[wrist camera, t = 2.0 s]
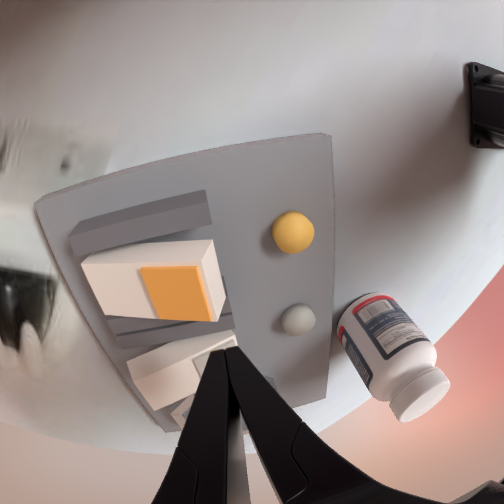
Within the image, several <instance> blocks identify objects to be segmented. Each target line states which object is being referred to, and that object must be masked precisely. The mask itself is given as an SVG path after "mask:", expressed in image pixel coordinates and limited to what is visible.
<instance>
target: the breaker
mask: <svg viewBox="0 0 504 504" xmlns="http://www.w3.org/2000/svg"><path fill="white" fill-rule="evenodd" d="M232 346H238V344H237V340H236V336H235V334H234V333H233V331H232V330H227V331H222V332H217V333H212V334H208V335H203V336H198V337H193V338H188V339H182V340H177V341H172V342H170V343H168V344H166V345H163V346H161V347H159V348H157V349H154V350H152V351H150V352H148V353H145V354H143V355H141V356H138V357H136V358H134V359H131V360H129V361H127V365H128V368H129V371H130V374H131V377H132V380H133V382H134V384H135V385H136V387H137V388H138V390H139V391H140V392H141V394H142V395H143V397H144V398H145V399H146V401H147V402H148V403H149V405H150V406H151V407H152V409H153V410H154V411H156V410H158V409H161V408H163V407H165V406H167V405H170V404H172V403H174V402H176V401H178V400H181V399H183V398H185V397H187V396H189V395H191V394H193V393H195V392H196V390H197V388H198V385H199V382H200V379H201V376H202V373H203V371H204V368H205V365H206V362H207V359H208V357H209V354H210V352H211V351H213V350H218V349H224V350H225V348H228V347H232Z"/></svg>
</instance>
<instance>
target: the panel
mask: <svg viewBox="0 0 504 504" xmlns="http://www.w3.org/2000/svg"><path fill="white" fill-rule="evenodd" d="M34 206H35V209H36V212H37V214H38V217H39V220H40V222H41V225H42V228H43V230H44V233H45V235H46V238H47V240H48V243H49V245H50V247H51V250H52V252H53V254H54V257H55V259H56V261H57V263H58V265H59V268H60V270H61V272H62V274H63V276H64V278H65V280H66V282H67V284H68V286H69V288H70V290H71V292H72V294H73V296H74V298H75V300H76V302H77V304H78V306H79V307H80V309H81V311H82V313H83V315H84V317H85V318H86V320H87V322H88V324H89V325H90V327H91V329H92V330H93V332H94V334H95V336H96V337H97V339H98V340H99V342H100V344H101V345H102V347H103V349H104V350H105V352H106V353H107V355H108V356H109V358H110V359H111V361H112V362H113V364H114V365H115V367H116V368H117V370H118V371H119V373H120V374H121V376H122V377H123V379H124V380H125V381H126V383H127V384H128V386H129V387H130V388H131V390H132V391H133V392H134V394H135V395H136V397H137V398H138V399H139V400H140V402H141V403H142V404H143V406H144V407H145V408H146V410H147V411H148V412H149V413H150V415H151V416H152V417H153V418H154V420H155V421H156V422H157V423H158V424H159V426H160V427H161V428H162V429H163V430H164V432H174V431H182V429H181V428H180V426H179V425H178V423H177V422H176V421H175V419H174V418H173V417H172V415H171V411H170V405H167V406H165V407H163V408H161V409H158V410H156V411H154V410H153V409H152V407H151V406H150V405H149V403H148V402H147V401H146V399H145V398H144V397H143V395H142V394H141V392H140V391H139V390H138V388H137V387H136V385H135V384H134V382H133V380H132V377H131V374H130V371H129V368H128V365H127V361H129V360H131V359H134V358H136V357H138V356H141V355H143V354H145V353H148V352H150V351H152V350H154V349H157V348H159V347H161V346H163V345H166V344H168V343H170V342H172V341H177V340H182V339H188V338H193V337H198V336H203V335H208V334H212V333H217V332H222V331H227V330H232V331H233V333H234V334H235V336H236V340H237V344H238V346H239V347H240V349H241V350H242V351H243V352H244V353H245V355H246V356H247V357H248V358H249V359H250V361H251V362H252V363H253V364H254V365H255V367H256V368H257V369H258V370H259V371H260V373H261V374H262V375H265V376H269V377H272V378H273V379H274V382H275V385H276V388H277V391H278V393H279V395H280V396H281V397H282V398H283V399H284V400H285V401H286V403H287V404H288V405H289V406H290V407H291V408H295V407H298V406H302V405H305V404H308V403H312V402H315V401H318V400H321V399H324V398H326V390H327V380H328V370H329V359H330V346H331V332H332V315H333V293H334V254H335V219H334V179H333V158H332V141H331V136H330V135H326V134H323V133H315V134H306V135H297V136H289V137H281V138H274V139H266V140H260V141H253V142H247V143H241V144H235V145H229V146H224V147H219V148H213V149H208V150H203V151H198V152H194V153H189V154H185V155H180V156H176V157H171V158H167V159H163V160H159V161H155V162H151V163H147V164H143V165H139V166H136V167H132V168H128V169H125V170H121V171H118V172H114V173H111V174H108V175H104V176H101V177H98V178H95V179H91V180H88V181H85V182H82V183H79V184H76V185H73V186H70V187H67V188H64V189H62V190H59V191H56V192H53V193H51V194H48V195H45V196H43V197H42V198H40V199H39V200H38V201H37V202H36V203H34ZM210 239H213V243H214V248H215V252H216V257H217V261H218V266H219V270H220V274H221V279H222V283H223V287H224V291H225V296H226V299H225V302H224V305H223V307H222V310H221V313H220V316H219V319H218V322H210V321H185V320H167V319H151V318H138V317H125V316H114V315H105V314H104V312H103V310H102V308H101V306H100V304H99V302H98V300H97V298H96V296H95V294H94V292H93V290H92V288H91V286H90V284H89V282H88V279H87V277H86V275H85V273H84V271H83V268H82V266H81V263H82V262H83V261H84V260H85V259H86V258H87V257H88V256H89V255H90V254H91V253H92V252H96V251H100V250H104V249H108V248H112V247H116V246H120V245H124V244H140V243H156V242H174V241H192V240H210ZM190 407H191V406H190ZM190 407H189V408H188V409H187V410H188V412H189V410H190ZM240 413H241V412H240ZM241 417H242V414H241Z"/></svg>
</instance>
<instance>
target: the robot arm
mask: <svg viewBox="0 0 504 504" xmlns="http://www.w3.org/2000/svg"><path fill="white" fill-rule="evenodd" d="M469 78H470V96H471V138H470V141H471V145H472V146H473V147H476V148H502V149H504V72H501V71H499V70H496V69H493V68H491V67H488V66H485V65H482V64H480V63H477V62H470V63H469ZM240 412H241V413H240ZM241 414H242V417H243V420H244V422H245V425H246V427H247V430H248V432H249V435H250V437H251V440H252V442H253V444H254V447H255V449H256V451H257V454H258V456H259V458H260V461H261V463H262V465H263V468H264V469H265V472H266V474H267V476H268V479H269V481H270V483H271V485H272V488H273V490H274V492H275V494H276V496H277V498H278V500H279V503H280V504H504V478H503V479H502V480H501V481H499V482H498V483H497V482H495V481H493V480H490V481H488V482H486V483H484V484H482V485H480V486H479V487H477V488H475V489H474V490H472V491H470V492H469V493H467V494H465V495H463V496H461V497H459V498H457V499H456V500H454V501H452V502H450V503H442V502H438V501H434V500H430V499H426V498H422V497H419V496H415V495H412V494H408V493H405V492H402V491H399V490H396V489H393V488H390V487H388V486H385V485H383V484H382V483H380V482H378V481H376V480H374V479H373V478H371V477H370V476H368V475H367V474H365V473H364V472H362V471H361V470H360V469H358V468H357V467H355V466H354V465H353V464H351V463H350V462H349V461H347V460H346V459H344V458H343V457H342V456H340V455H339V454H338V453H337V452H335V451H334V450H333V449H332V448H330V447H329V446H328V445H327V444H326V443H324V442H323V441H322V440H321V439H320V438H319V437H318V436H317V435H316V434H315V433H314V432H313V431H312V430H311V429H310V428H309V427H308V425H307V424H306V423H305V422H302V419H301V418H300V417H299V416H298V415H297V414H296V413H295V411H294V410H293V409H292V408H291V407H290V406H289V405H288V404H287V403H286V401H285V400H284V399H283V398H282V397H281V396H280V395H279V393H278V392H277V391H276V390H275V389H274V388H273V387H272V385H271V384H270V383H269V382H268V381H267V380H266V378H265V377H264V376H263V375H262V374H261V373H260V371H259V370H258V369H257V368H256V367H255V365H254V364H253V363H252V362H251V361H250V359H249V358H248V357H247V356H246V355H245V353H244V352H243V351H242V350H241V349H240V347H239V346H232V347H228V348H225V350H224V349H218V350H213V351H211V352H210V354H209V357H208V359H207V362H206V365H205V368H204V371H203V373H202V376H201V379H200V382H199V385H198V388H197V390H196V393H195V396H194V399H193V402H192V404H191V407H190V410H189V413H188V416H187V419H186V421H185V424H184V427H183V430H182V433H181V436H180V438H179V441H178V444H177V446H178V447H176V449H175V452H174V455H173V458H172V461H171V463H170V466H169V468H168V471H167V473H166V475H165V477H164V480H163V482H162V484H161V486H160V488H159V490H158V492H157V494H156V495H155V497H154V499H153V501H152V503H151V504H251V502H250V493H249V485H248V477H247V467H246V459H245V449H244V440H243V431H242V421H241Z"/></svg>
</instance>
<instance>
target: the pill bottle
mask: <svg viewBox="0 0 504 504" xmlns="http://www.w3.org/2000/svg"><path fill="white" fill-rule="evenodd" d="M337 336H338V339H339V341H340V343H341V344H342V346H343V348H344V349H345V351H346V353H347V355H348V356H349V358H350V360H351V361H352V363H353V365H354V366H355V368H356V370H357V371H358V373H359V375H360V377H361V378H362V380H363V382H364V383H365V385H366V387H367V388H368V390H369V392H370V393H371V395H372V396H373V397H374V398H376V399H377V400H379V401H390V408H391V410H392V411H393V413H394V414H395V416H396V418H397V419H398V421H399V422H402V423H403V422H408V421H411V420H413V419H415V418H417V417H419V416H421V415H422V414H424V413H425V412H427V411H428V410H429V409H431V408H432V407H433V406H434V405H436V404H437V403H438V402H439V401H440V400H441V399H442V398H443V397H444V395H445V394H446V392H447V391H448V389H449V387H450V382H449V380H448V379H447V377H446V376H445V374H444V373H443V371H442V370H440V369H439V368H438V367H434V365H435V363H436V358H437V354H436V350H435V348H434V346H433V345H432V343H431V342H430V341H429V340H428V338H427V337H426V336H425V335H424V334H423V333H422V331H421V330H420V329H419V328H418V327H417V326H416V324H415V323H414V322H413V321H412V320H411V319H410V317H409V316H408V315H407V314H406V313H405V312H404V311H403V309H402V308H401V307H400V306H399V305H398V304H397V303H396V301H395V300H394V299H393V298H392V297H391V296H389V295H388V294H386V293H381V292H376V293H371V294H368V295H365V296H363V297H361V298H360V299H358V300H356V301H355V302H354V303H353V304H351V305H350V306H349V307H348V308H347V310H346V311H345V312H344V313H343V315H342V317H341V318H340V320H339V323H338V326H337Z"/></svg>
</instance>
